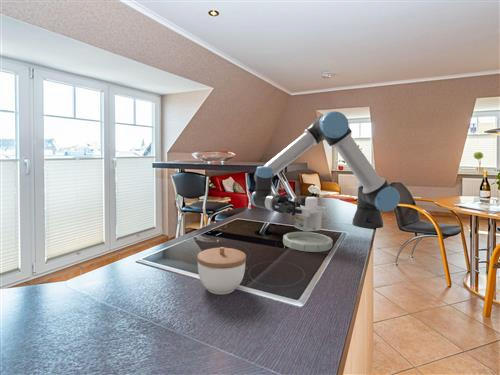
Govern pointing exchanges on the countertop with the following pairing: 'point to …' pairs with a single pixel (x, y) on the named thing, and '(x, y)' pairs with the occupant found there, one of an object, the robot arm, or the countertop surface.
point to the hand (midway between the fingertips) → (317, 212)
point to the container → (315, 215)
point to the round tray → (307, 241)
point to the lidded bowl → (221, 269)
